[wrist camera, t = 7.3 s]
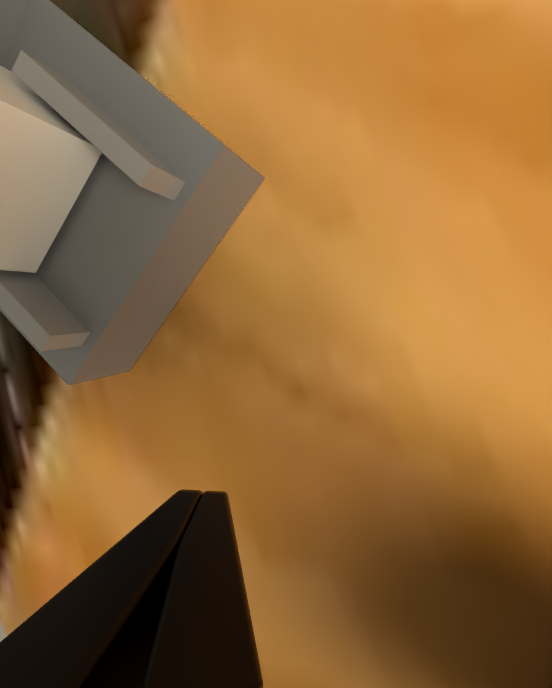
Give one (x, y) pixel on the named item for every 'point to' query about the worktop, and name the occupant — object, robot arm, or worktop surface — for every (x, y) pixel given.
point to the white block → (36, 173)
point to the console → (115, 201)
